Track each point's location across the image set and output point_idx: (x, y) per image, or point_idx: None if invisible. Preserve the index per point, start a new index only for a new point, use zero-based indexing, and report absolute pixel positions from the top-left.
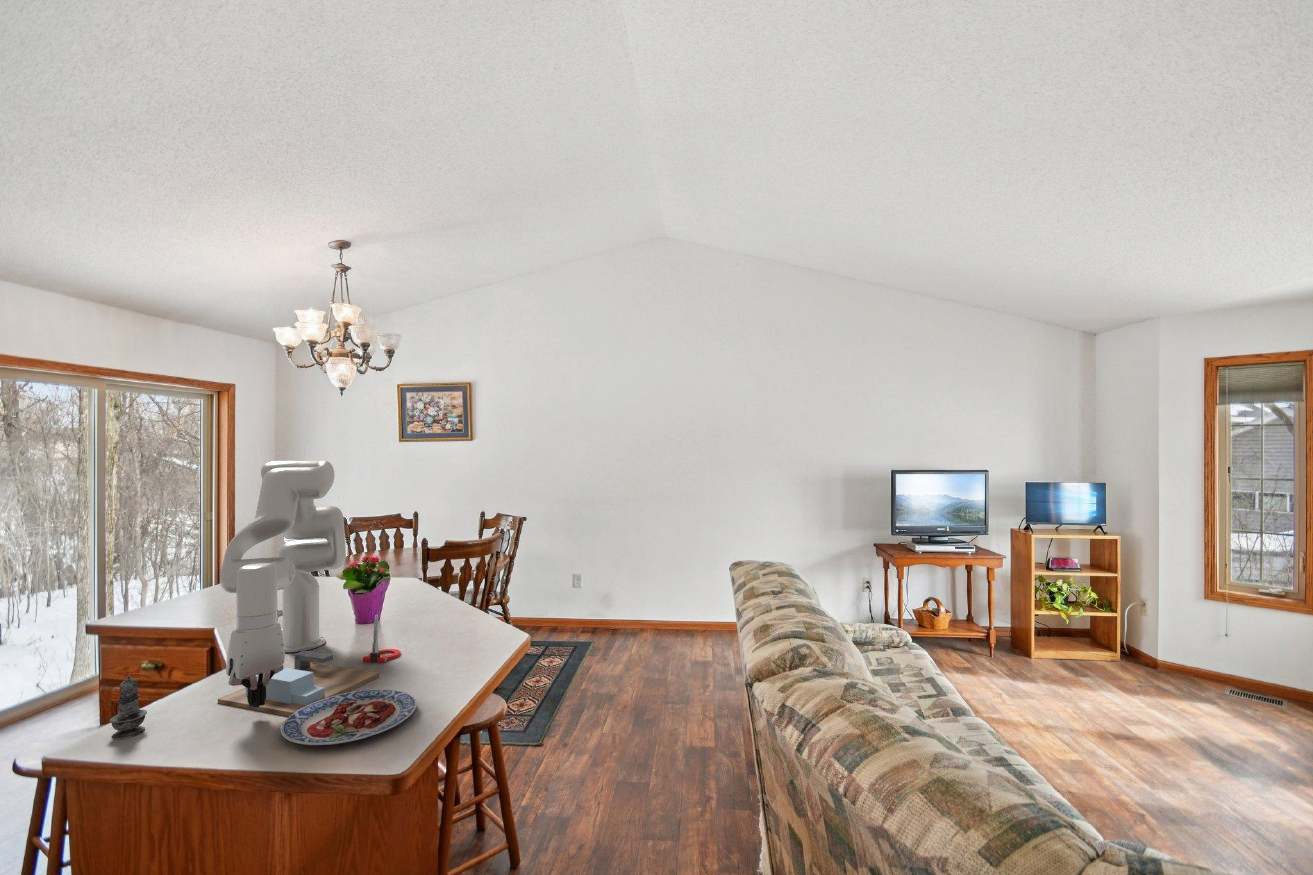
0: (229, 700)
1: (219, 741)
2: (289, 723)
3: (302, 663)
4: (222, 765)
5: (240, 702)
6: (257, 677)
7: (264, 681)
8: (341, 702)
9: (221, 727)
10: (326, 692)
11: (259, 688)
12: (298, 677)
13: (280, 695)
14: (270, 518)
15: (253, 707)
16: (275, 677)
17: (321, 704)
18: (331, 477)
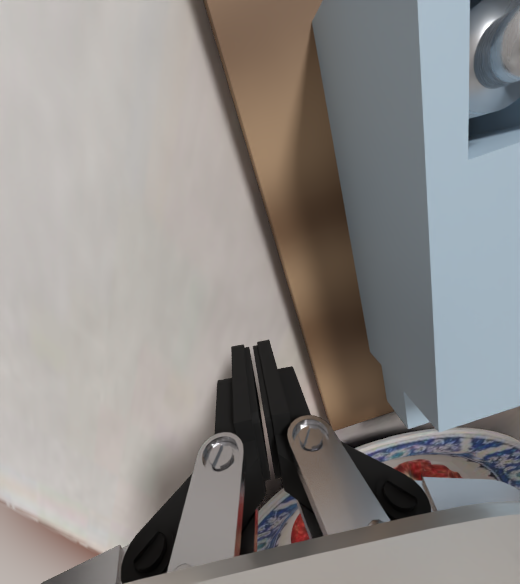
0: (212, 2)
1: (106, 426)
2: (275, 516)
3: None
4: (99, 540)
5: (249, 127)
6: (304, 479)
7: (310, 516)
8: (445, 454)
9: (127, 322)
10: None
11: (273, 465)
12: (503, 402)
13: (377, 317)
14: None
15: (275, 239)
16: (461, 288)
17: (404, 454)
18: None
